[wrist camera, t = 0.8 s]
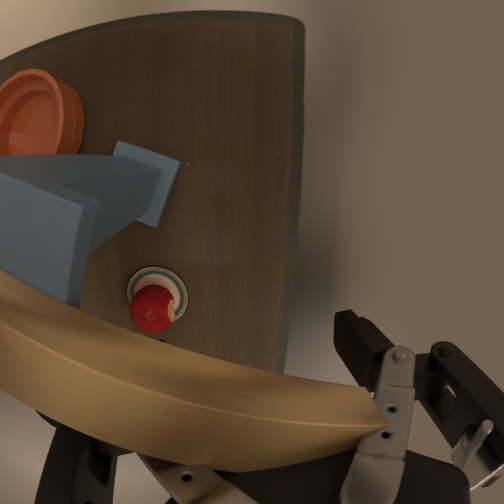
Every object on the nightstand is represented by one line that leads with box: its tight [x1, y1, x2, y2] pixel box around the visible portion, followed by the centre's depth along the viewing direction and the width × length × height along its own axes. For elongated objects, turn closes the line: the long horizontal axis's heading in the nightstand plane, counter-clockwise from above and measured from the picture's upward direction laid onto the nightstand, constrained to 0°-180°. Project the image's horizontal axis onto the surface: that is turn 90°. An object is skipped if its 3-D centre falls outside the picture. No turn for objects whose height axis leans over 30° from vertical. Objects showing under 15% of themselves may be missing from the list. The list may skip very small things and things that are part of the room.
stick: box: [0, 269, 388, 473], centre depth 5 cm, size 18×4×2 cm, turn 68°
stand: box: [0, 140, 182, 309], centre depth 18 cm, size 12×8×28 cm, turn 67°
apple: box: [127, 267, 187, 333], centre depth 32 cm, size 8×8×6 cm
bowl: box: [0, 69, 85, 155], centre depth 24 cm, size 16×16×6 cm
